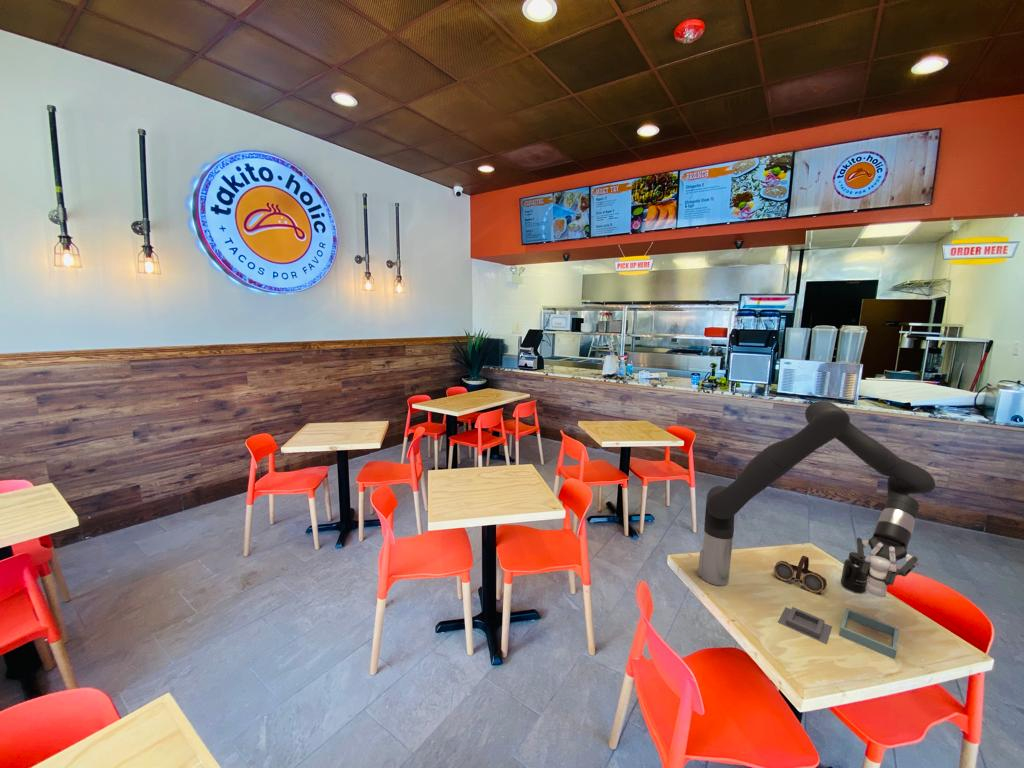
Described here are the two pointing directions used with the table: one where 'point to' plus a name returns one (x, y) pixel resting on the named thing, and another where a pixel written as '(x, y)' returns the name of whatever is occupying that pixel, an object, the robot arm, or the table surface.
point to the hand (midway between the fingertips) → (875, 580)
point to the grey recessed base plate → (806, 624)
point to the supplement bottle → (853, 574)
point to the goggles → (809, 580)
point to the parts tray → (865, 640)
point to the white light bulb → (878, 576)
